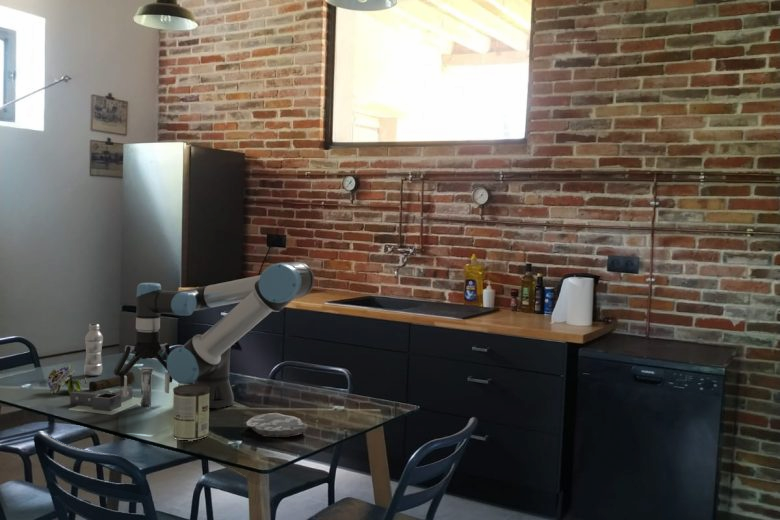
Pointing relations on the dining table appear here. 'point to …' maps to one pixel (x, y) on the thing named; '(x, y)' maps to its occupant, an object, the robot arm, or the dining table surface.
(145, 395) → the hinge pin
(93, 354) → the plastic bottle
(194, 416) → the coffee can
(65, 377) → the passion flower
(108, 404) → the hinge base
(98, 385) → the hand tool
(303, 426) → the brain slice
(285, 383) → the dining table surface
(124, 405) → the mat
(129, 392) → the bolted dark bar
